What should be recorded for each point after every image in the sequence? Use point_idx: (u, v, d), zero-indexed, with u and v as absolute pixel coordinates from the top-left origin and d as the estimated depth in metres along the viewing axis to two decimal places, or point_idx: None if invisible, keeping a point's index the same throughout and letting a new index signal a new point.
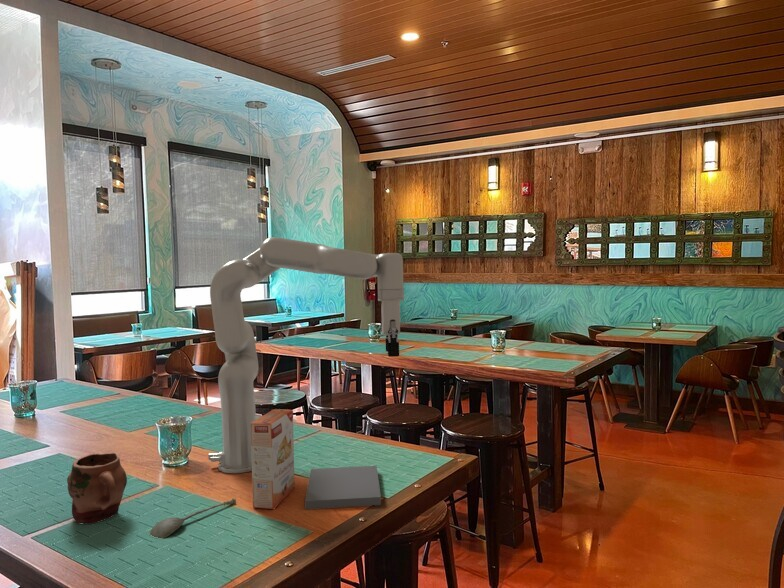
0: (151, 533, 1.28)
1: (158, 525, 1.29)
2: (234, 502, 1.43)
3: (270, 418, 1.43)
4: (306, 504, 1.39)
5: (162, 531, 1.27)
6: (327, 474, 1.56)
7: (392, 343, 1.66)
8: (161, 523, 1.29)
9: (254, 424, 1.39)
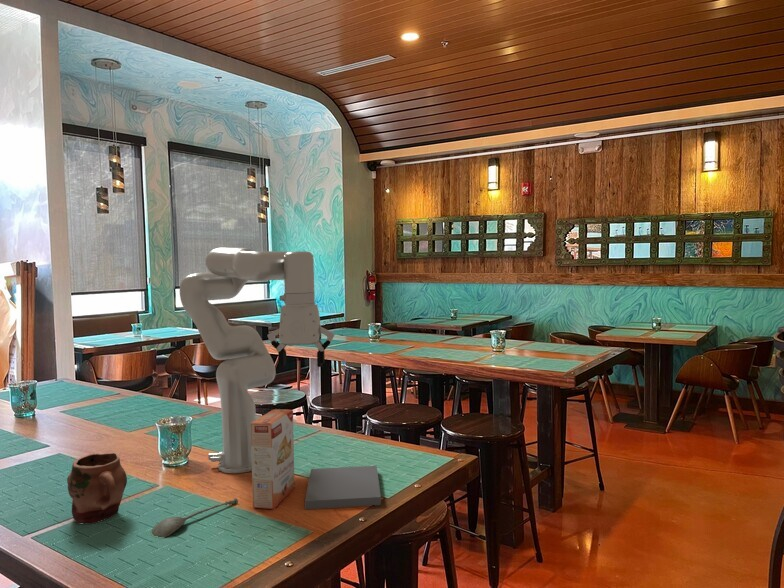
0: (153, 532, 1.28)
1: (160, 524, 1.29)
2: (236, 502, 1.44)
3: (270, 418, 1.43)
4: (306, 504, 1.39)
5: (164, 530, 1.28)
6: (327, 474, 1.56)
7: (323, 351, 1.50)
8: (163, 522, 1.30)
9: (254, 424, 1.39)
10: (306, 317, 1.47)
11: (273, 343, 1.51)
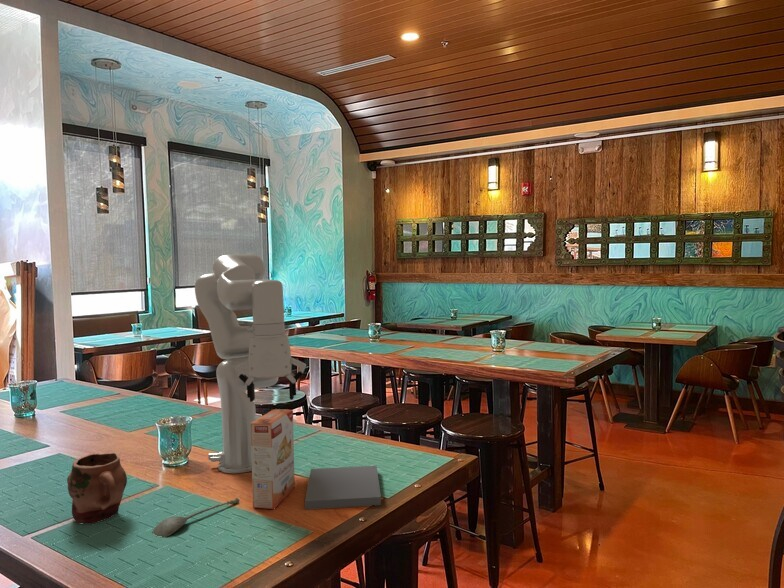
0: (154, 532, 1.29)
1: (161, 524, 1.30)
2: (237, 501, 1.44)
3: (270, 418, 1.43)
4: (306, 504, 1.39)
5: (165, 529, 1.28)
6: (327, 474, 1.56)
7: (295, 383, 1.45)
8: (164, 522, 1.30)
9: (254, 424, 1.39)
10: (278, 348, 1.42)
11: (241, 377, 1.43)
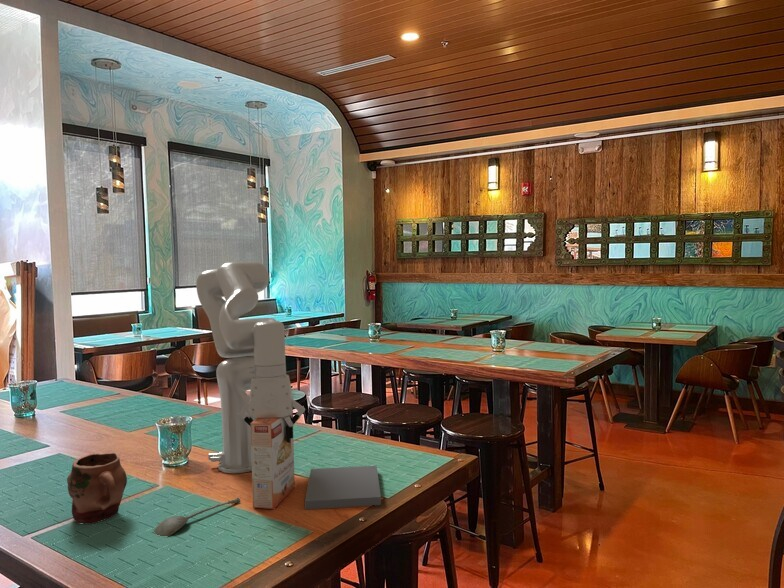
0: (155, 531, 1.29)
1: (162, 523, 1.30)
2: (238, 501, 1.44)
3: (270, 418, 1.43)
4: (306, 504, 1.39)
5: (166, 529, 1.28)
6: (327, 474, 1.56)
7: (292, 426, 1.46)
8: (165, 521, 1.30)
9: (254, 424, 1.39)
10: (279, 390, 1.43)
11: (246, 420, 1.44)
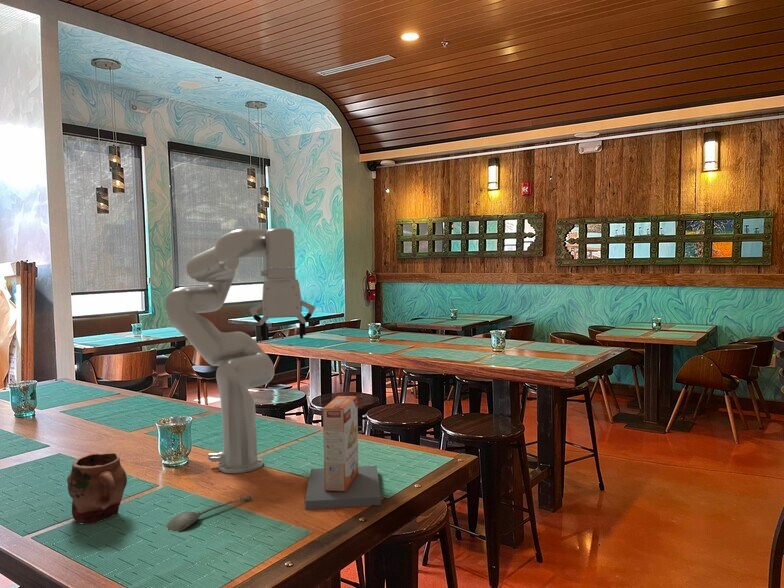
0: (168, 526, 1.31)
1: (175, 519, 1.32)
2: (251, 498, 1.46)
3: (340, 404, 1.47)
4: (306, 504, 1.39)
5: (178, 524, 1.30)
6: None
7: None
8: (178, 517, 1.32)
9: (326, 409, 1.43)
10: (289, 291, 1.54)
11: (255, 317, 1.56)
